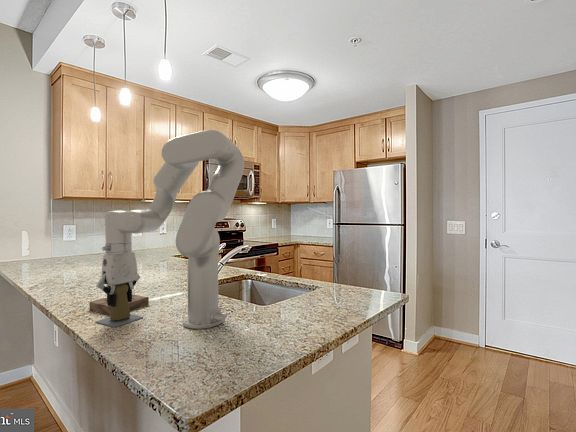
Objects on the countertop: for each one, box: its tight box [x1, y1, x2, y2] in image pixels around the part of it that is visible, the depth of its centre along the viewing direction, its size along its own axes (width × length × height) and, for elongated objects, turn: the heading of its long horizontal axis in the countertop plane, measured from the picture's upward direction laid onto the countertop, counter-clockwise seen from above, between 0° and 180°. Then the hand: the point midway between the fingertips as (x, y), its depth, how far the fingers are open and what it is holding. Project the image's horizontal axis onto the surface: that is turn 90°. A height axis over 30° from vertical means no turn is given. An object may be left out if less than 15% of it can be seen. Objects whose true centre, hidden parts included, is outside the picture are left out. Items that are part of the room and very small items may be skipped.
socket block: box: [88, 293, 150, 316], centre depth 119 cm, size 14×14×3 cm
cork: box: [109, 283, 131, 320], centre depth 105 cm, size 6×6×11 cm
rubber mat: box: [95, 313, 144, 328], centre depth 105 cm, size 10×10×1 cm
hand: (120, 303), depth 105 cm, fingers open, 5 cm apart
